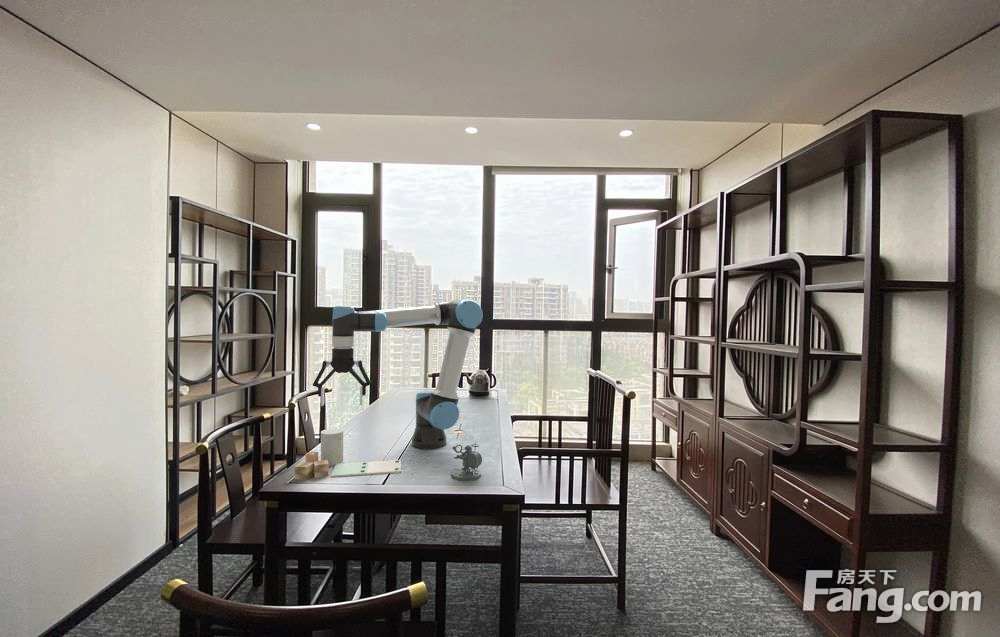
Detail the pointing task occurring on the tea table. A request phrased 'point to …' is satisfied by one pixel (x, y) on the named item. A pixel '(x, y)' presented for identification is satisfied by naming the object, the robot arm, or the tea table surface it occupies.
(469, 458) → the figurine
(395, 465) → the pad two
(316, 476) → the oak block
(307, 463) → the oak block
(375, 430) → the tea table surface
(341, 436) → the cup
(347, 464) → the pad three
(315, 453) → the terracotta cylinder
